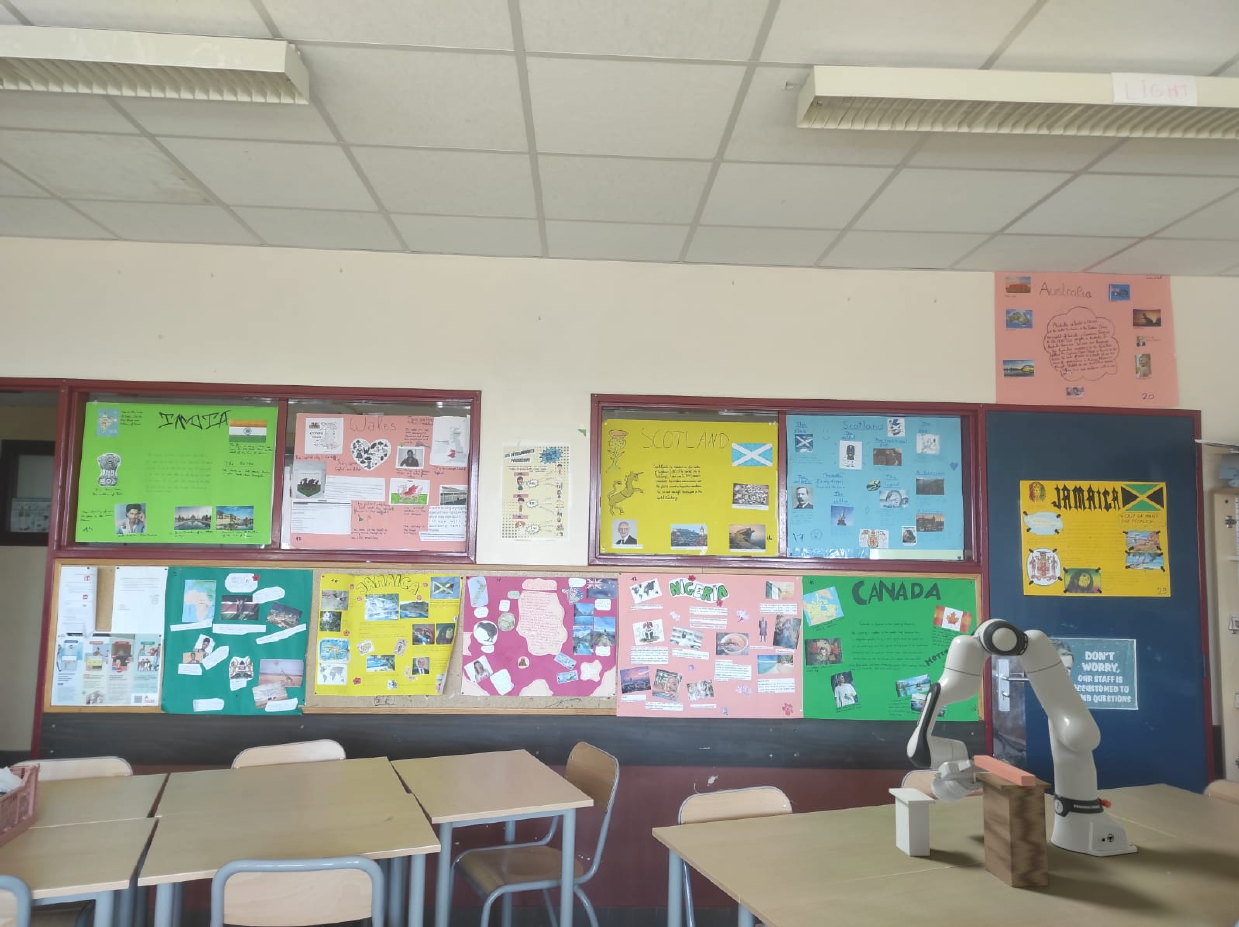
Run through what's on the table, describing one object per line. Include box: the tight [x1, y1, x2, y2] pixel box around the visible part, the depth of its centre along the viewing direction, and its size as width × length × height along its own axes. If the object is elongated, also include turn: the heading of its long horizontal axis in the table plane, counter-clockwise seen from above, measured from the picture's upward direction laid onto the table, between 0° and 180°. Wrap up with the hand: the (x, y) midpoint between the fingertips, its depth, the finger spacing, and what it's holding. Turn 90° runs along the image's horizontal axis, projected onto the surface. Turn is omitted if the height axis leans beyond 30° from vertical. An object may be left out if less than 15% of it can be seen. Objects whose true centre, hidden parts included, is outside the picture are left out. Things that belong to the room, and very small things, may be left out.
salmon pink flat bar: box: [973, 754, 1037, 786], centre depth 222 cm, size 4×22×2 cm, turn 7°
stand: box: [888, 787, 936, 857], centre depth 235 cm, size 8×12×16 cm, turn 7°
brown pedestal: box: [974, 772, 1052, 888], centre depth 217 cm, size 14×13×25 cm
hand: (987, 762), depth 230 cm, fingers open, 8 cm apart
